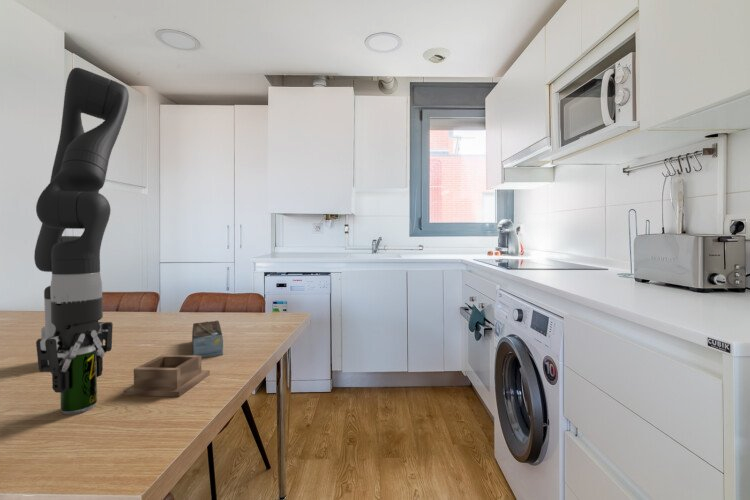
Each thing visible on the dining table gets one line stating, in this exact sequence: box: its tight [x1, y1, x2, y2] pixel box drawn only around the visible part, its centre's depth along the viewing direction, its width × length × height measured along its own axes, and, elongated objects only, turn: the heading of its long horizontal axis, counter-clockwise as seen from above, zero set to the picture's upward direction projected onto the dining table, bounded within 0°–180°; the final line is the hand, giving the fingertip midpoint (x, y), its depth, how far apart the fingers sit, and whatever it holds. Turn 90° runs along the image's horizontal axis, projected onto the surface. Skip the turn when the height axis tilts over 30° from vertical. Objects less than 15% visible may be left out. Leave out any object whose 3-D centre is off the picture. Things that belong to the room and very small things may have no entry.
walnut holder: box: [122, 354, 211, 398], centre depth 79 cm, size 12×12×5 cm
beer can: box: [59, 344, 98, 416], centre depth 68 cm, size 5×5×12 cm
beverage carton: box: [191, 320, 224, 359], centre depth 107 cm, size 8×19×7 cm, turn 27°
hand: (79, 383), depth 68 cm, fingers open, 6 cm apart
